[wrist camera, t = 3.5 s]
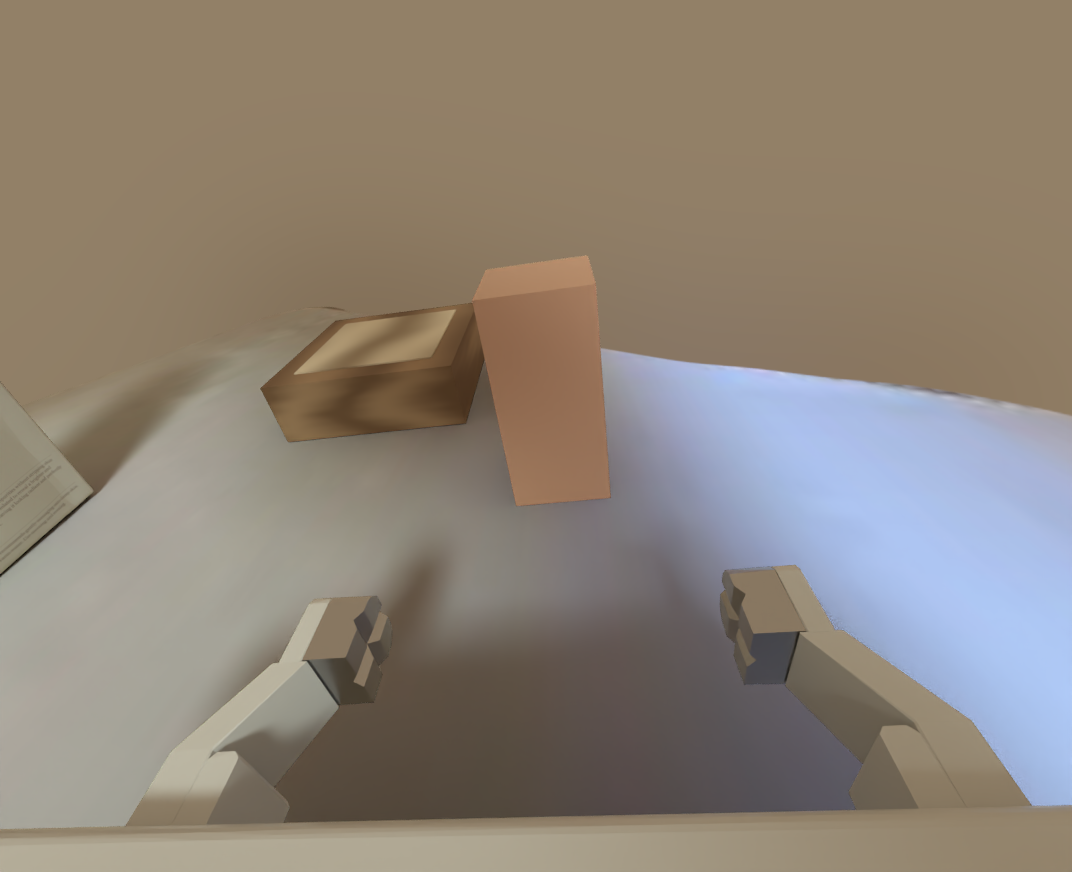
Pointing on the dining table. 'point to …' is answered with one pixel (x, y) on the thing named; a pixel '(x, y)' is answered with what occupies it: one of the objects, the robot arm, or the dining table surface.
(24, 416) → the skincare box
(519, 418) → the terracotta block
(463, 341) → the plinth
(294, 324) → the dining table surface
